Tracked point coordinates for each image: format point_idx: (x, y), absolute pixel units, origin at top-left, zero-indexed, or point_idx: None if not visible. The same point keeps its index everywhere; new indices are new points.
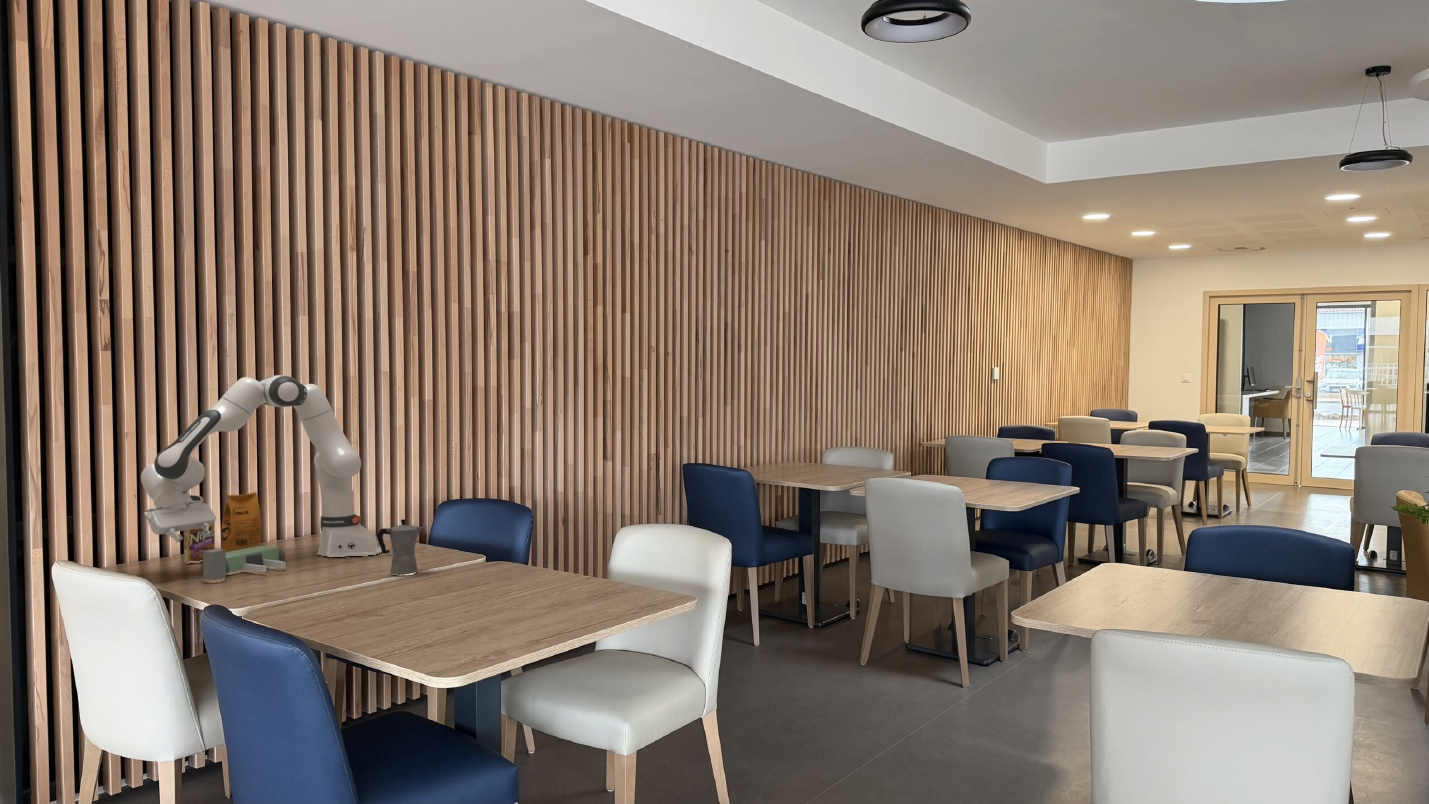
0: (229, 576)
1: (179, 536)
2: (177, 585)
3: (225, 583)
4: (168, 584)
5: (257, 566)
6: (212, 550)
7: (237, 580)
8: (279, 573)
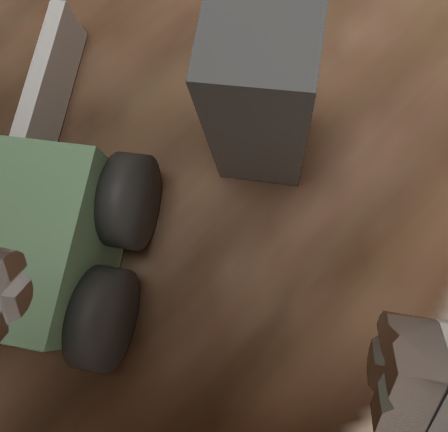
0: None
1: (442, 344)
2: (402, 271)
3: None
4: None
5: (55, 44)
6: (258, 47)
7: None
8: (30, 9)
